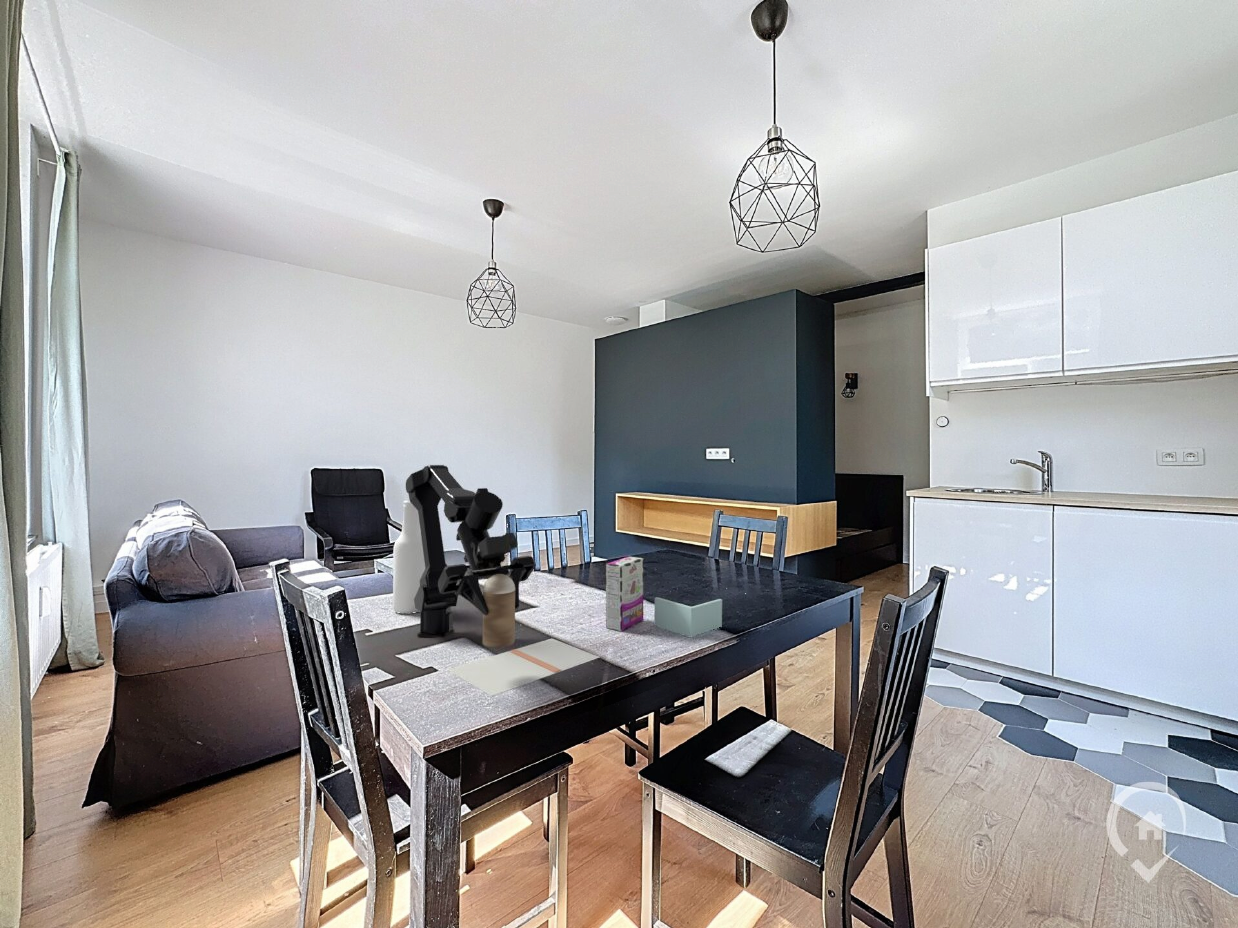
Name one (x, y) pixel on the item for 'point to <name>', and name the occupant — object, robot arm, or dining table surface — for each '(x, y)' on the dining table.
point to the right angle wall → (688, 616)
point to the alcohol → (407, 561)
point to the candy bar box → (624, 593)
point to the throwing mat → (521, 666)
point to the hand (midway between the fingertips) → (502, 610)
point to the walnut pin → (499, 611)
